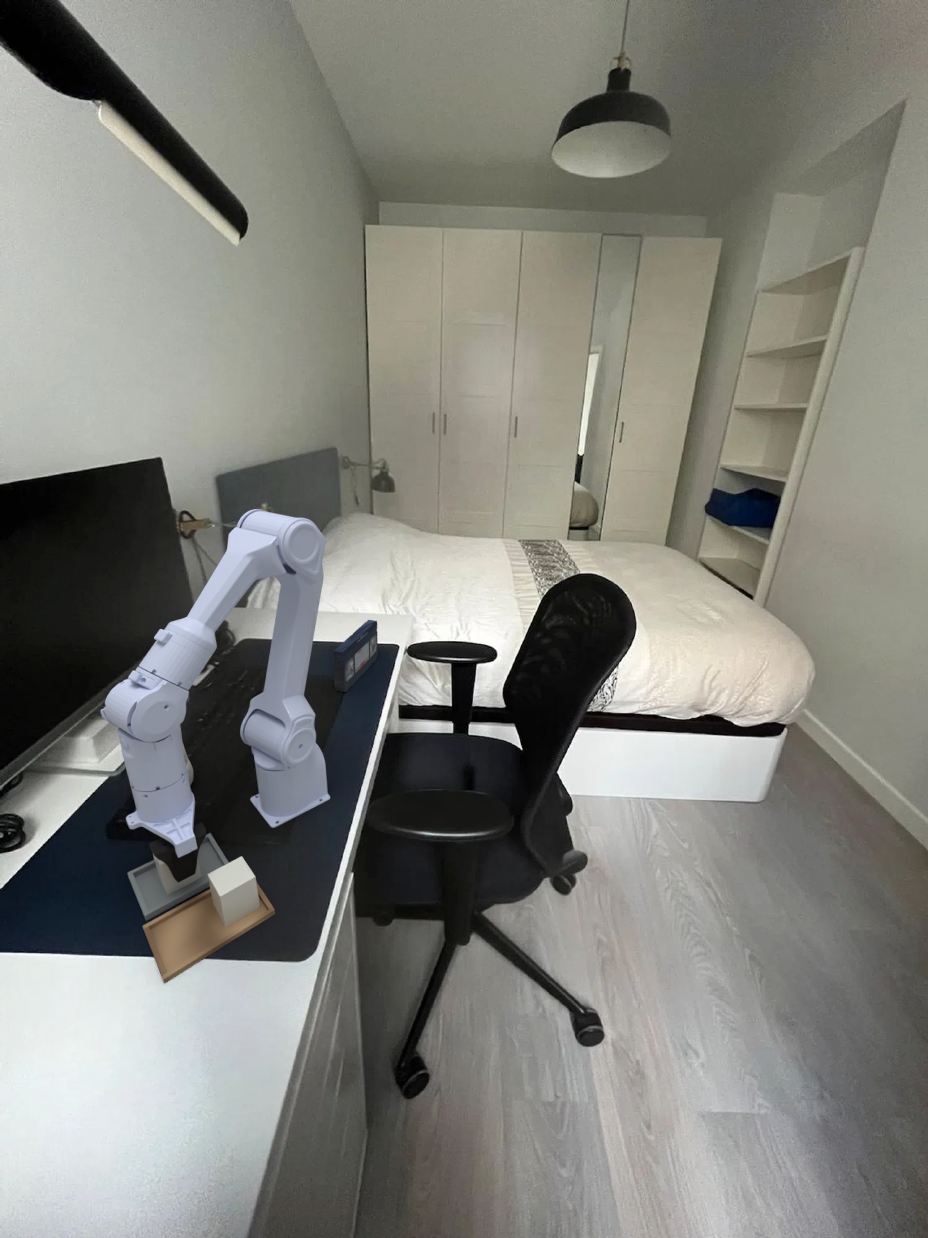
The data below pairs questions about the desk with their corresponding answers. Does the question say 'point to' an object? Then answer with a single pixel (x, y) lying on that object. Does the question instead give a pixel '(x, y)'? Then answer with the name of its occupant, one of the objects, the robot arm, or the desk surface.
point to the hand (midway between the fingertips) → (178, 862)
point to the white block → (168, 879)
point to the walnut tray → (196, 932)
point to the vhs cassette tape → (355, 655)
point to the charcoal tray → (158, 901)
